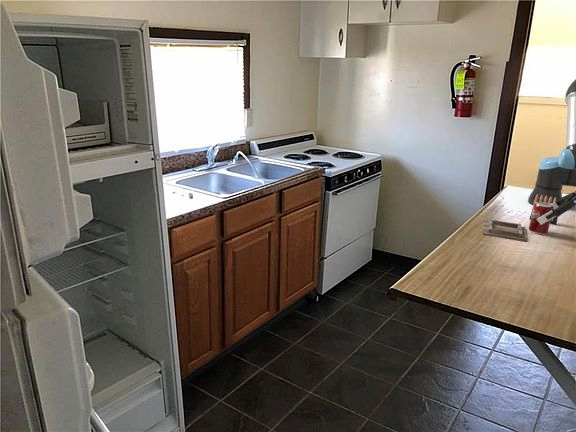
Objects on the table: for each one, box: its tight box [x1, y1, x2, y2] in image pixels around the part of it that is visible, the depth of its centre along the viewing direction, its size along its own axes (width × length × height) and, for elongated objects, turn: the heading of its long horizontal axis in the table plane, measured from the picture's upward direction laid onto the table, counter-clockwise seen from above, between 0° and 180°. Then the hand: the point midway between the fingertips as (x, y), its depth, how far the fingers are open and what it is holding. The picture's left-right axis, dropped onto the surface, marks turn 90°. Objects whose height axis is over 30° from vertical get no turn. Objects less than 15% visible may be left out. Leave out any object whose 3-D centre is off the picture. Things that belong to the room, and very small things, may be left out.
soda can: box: [528, 202, 554, 235], centre depth 196 cm, size 7×7×12 cm
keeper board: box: [482, 218, 528, 243], centre depth 197 cm, size 16×16×2 cm
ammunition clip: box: [528, 194, 559, 226], centre depth 209 cm, size 11×2×12 cm, turn 54°
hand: (540, 217), depth 196 cm, fingers open, 13 cm apart
